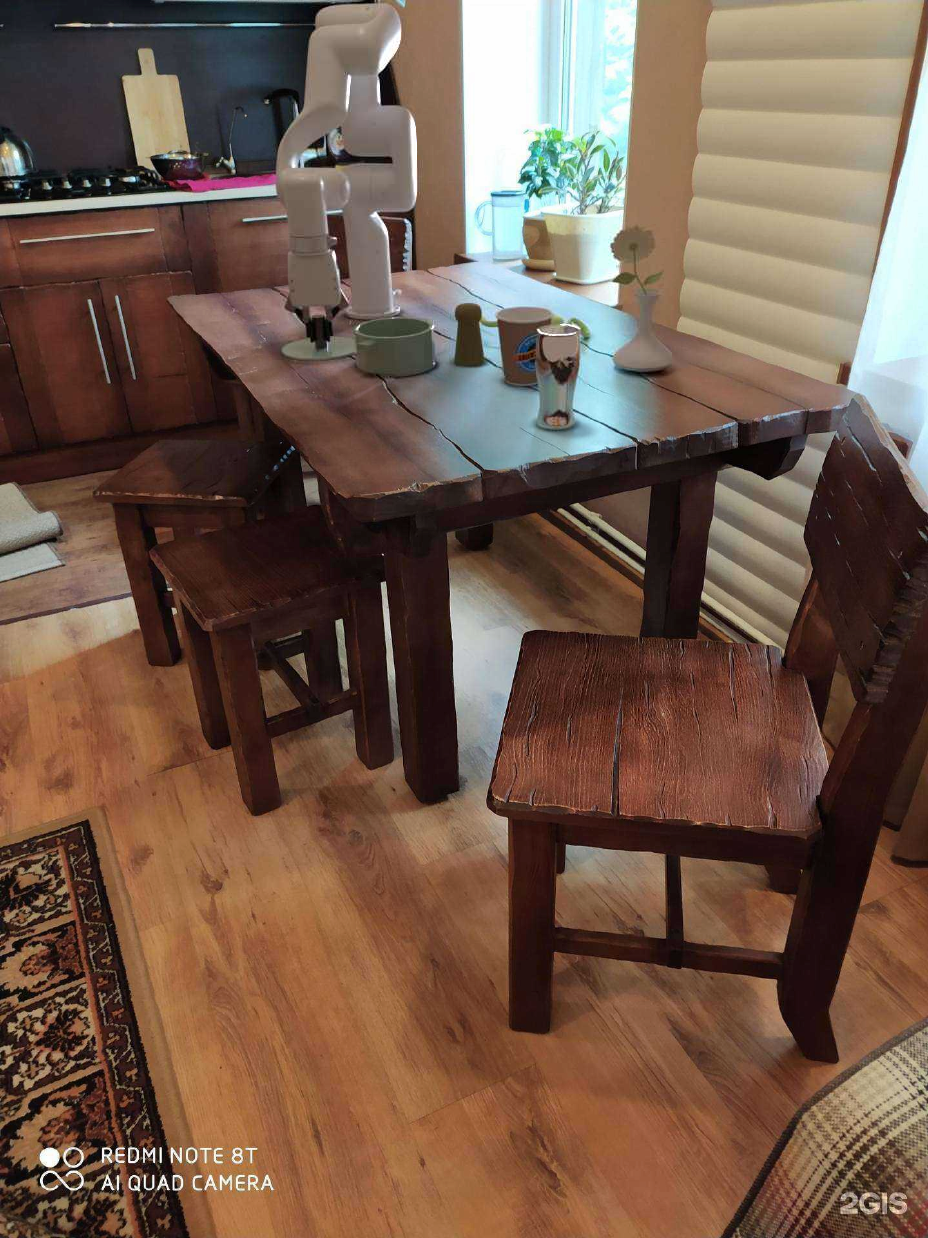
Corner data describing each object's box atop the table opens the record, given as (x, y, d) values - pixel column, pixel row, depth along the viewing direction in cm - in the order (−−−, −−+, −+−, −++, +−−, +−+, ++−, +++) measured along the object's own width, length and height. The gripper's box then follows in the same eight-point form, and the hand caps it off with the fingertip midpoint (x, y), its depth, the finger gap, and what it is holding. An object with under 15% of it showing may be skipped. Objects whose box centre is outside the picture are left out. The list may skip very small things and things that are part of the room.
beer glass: (531, 417, 149) (532, 324, 141) (572, 415, 149) (576, 322, 141) (537, 432, 143) (539, 336, 135) (581, 429, 143) (585, 334, 135)
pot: (333, 374, 172) (328, 335, 168) (393, 347, 187) (390, 311, 183) (399, 385, 165) (396, 345, 161) (456, 355, 180) (455, 318, 176)
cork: (481, 366, 173) (480, 307, 167) (451, 365, 174) (449, 307, 169) (487, 357, 178) (486, 300, 172) (457, 356, 179) (455, 299, 174)
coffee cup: (513, 392, 160) (513, 323, 153) (485, 377, 167) (484, 311, 161) (562, 382, 163) (564, 315, 157) (533, 368, 171) (534, 303, 165)
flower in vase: (676, 361, 173) (690, 220, 159) (668, 379, 164) (681, 231, 150) (609, 356, 176) (617, 218, 163) (597, 374, 167) (604, 229, 154)
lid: (265, 357, 183) (260, 321, 179) (315, 338, 194) (311, 303, 190) (329, 367, 176) (325, 329, 172) (377, 346, 187) (374, 310, 183)
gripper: (352, 239, 177) (360, 333, 187) (269, 242, 177) (282, 337, 186) (351, 245, 171) (360, 343, 181) (265, 249, 170) (279, 347, 180)
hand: (320, 339), depth 184 cm, fingers closed on lid, 2 cm apart
